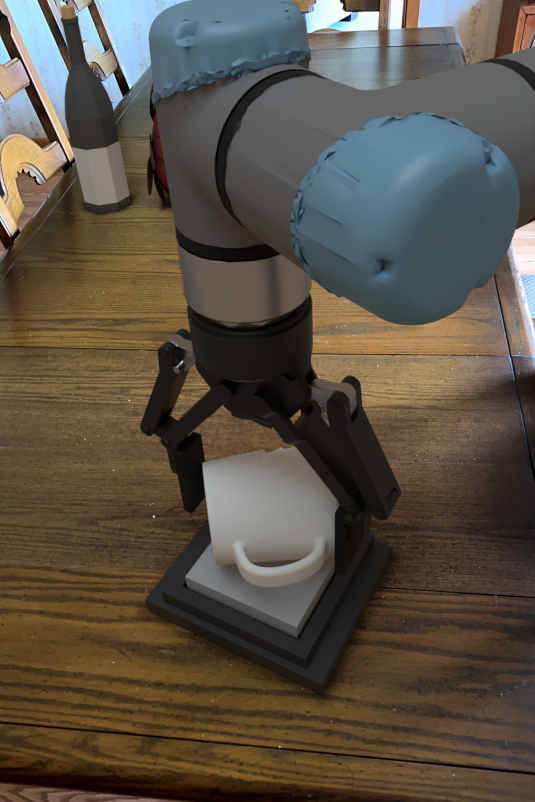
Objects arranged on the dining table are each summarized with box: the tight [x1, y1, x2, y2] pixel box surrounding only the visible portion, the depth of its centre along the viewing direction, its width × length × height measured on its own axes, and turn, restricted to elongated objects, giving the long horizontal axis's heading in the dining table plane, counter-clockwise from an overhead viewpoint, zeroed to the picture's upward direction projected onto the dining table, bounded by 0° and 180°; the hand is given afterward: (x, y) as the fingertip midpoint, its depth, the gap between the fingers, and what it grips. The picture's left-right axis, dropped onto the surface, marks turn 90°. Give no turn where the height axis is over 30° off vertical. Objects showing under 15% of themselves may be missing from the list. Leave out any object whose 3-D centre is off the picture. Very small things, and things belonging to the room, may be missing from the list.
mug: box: [202, 446, 339, 588], centre depth 54 cm, size 12×9×8 cm
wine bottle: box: [59, 3, 131, 215], centre depth 112 cm, size 8×8×30 cm
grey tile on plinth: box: [185, 542, 335, 638], centre depth 59 cm, size 10×10×2 cm
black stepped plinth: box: [144, 518, 394, 696], centre depth 60 cm, size 16×14×3 cm
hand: (268, 529), depth 56 cm, fingers closed on mug, 13 cm apart
